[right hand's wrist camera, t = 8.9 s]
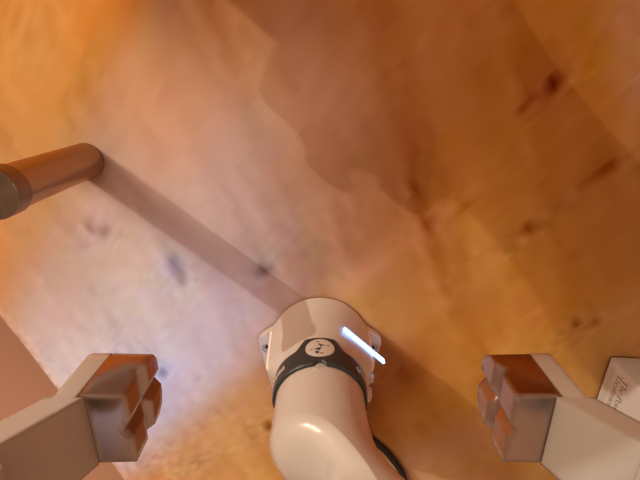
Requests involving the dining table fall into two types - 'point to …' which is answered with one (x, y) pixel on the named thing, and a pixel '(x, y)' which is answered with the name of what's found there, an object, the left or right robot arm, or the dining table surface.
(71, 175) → the brown cylinder
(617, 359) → the skincare box
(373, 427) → the dining table surface
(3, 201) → the lid
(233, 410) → the dining table surface
